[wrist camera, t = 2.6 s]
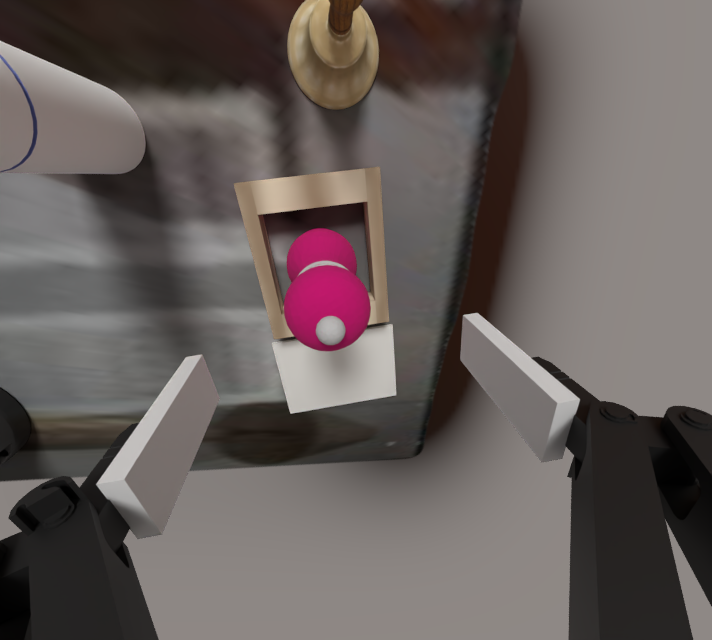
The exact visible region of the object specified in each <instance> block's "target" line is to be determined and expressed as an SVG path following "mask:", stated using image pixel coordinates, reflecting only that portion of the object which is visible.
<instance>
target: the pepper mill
mask: <svg viewBox="0 0 712 640" xmlns="http://www.w3.org/2000/svg"><path fill="white" fill-rule="evenodd" d="M356 270H357V263H356V257H355V253H354V250H353V248H352V246H351V245H350V243H349V242H348V241H347V240H346V239H345V238H344V237H343V236H342V235H340V234H338V233H337V232H334V231H332V230H329V229H326V228H314V229H311V230H309V231H307V232H305V233H304V234H302V235H301V236H299V237H298V238H297V239H296V240H295V241H294V243H293V244H292V245H291V247H290V249H289V252H288V256H287V271H288V275H289V278H290V280H291V282H292V283H291V285H290V287H289V288H288V291H287V293H286V296H285V301H284V316H285V320H286V323H287V326H288V328H289V329H290V331H291V332H292V334H293V335H294V336H295V338H296V339H297V340H298V341H300V342H301V343H302V344H304V345H305V346H307V347H310V348H312V349H315V350H318V351H326V352H327V351H336V350H340V349H342V348H345V347H347V346H349V345H351V344H352V343H354V342H355V341H356V340H357V339H358V338H359V337H360V336H361V335H362V334H363V333H364V331H365V329H366V327H367V325H368V322H369V319H370V313H371V306H370V298H369V295H368V292H367V290H366V288H365V286H364V284H363V283H362V282H361V281H360V279H359V278H358V277H357V276H356Z"/></svg>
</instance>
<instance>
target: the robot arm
mask: <svg viewBox="0 0 712 640" xmlns="http://www.w3.org/2000/svg"><path fill="white" fill-rule="evenodd" d="M460 360H461V361H462V362H463V364H464V365H465V366H466V368H467V369H468V370H469V371H470V373H471V374H472V375H473V376H474V378H475V379H476V380H477V381H478V383H479V384H480V385H481V386H482V387H483V389H484V390H485V391H486V393H487V394H488V395H489V396H490V398H491V399H492V400H493V401H494V403H495V404H496V405H497V406H498V407H499V409H500V410H501V412H502V413H503V414H504V415H505V417H506V418H507V419H508V420H509V422H510V423H511V424H512V425H513V427H514V428H515V429H516V430H517V432H518V433H519V434H520V435H521V436H522V438H523V439H524V441H525V442H526V443H527V444H528V445H529V447H530V448H531V449H532V451H533V452H534V453H535V454H536V456H537V457H538V458H539V459H540V461H541V462H547V461H552V460H558V459H562V457H563V454H564V451H565V447H567V448H568V449H569V450H570V451H571V452H572V453H573V454H574V458H573V461H572V464H571V467H570V470H569V473H568V476H567V477H570V478H571V477H572V492H571V493H572V494H571V498H572V499H571V544H570V545H571V546H570V596H569V640H693V637H692V633H691V629H690V625H689V620H688V615H687V611H686V607H685V603H684V598H683V594H682V590H681V586H680V581H679V577H678V573H677V569H676V564H675V560H674V556H673V551H672V547H671V542H670V539H669V534H668V530H667V525H666V521H667V523H668V525H669V527H670V528H671V530H672V532H673V534H674V536H675V538H676V540H677V542H678V544H679V546H680V548H681V549H682V551H683V553H684V555H685V557H686V559H687V561H688V563H689V565H690V567H691V568H692V570H693V572H694V574H695V576H696V578H697V580H698V582H699V583H700V585H701V587H702V589H703V591H704V593H705V595H706V597H707V599H708V601H709V602H710V604H711V606H712V415H710V414H708V413H706V412H704V411H701V410H698V409H695V408H690V407H686V406H673V407H670V408H668V409H667V411H666V414H665V415H664V417H663V418H662V417H648V416H638V415H637V414H636V413H634V412H633V411H632V410H630V409H628V408H626V407H624V406H622V405H619V404H616V403H613V402H606V401H601V402H600V401H599V400H598V399H597V398H595V397H594V396H593V395H591V394H590V393H589V392H588V391H586V390H585V389H584V388H583V387H581V386H580V385H579V384H578V383H576V382H575V381H574V380H572V379H570V378H569V376H567V375H566V374H565V373H563V372H561V370H560V369H558V368H557V367H556V366H555V365H553V364H552V363H551V362H549V361H546V360H544V359H542V358H540V357H533V358H530V357H529V356H528V355H527V354H526V353H524V352H523V351H522V350H521V349H520V348H519V347H517V346H516V345H515V344H514V343H513V342H511V341H510V340H509V339H508V338H507V337H505V336H504V335H503V334H502V333H501V332H499V331H498V330H497V329H496V328H495V327H494V326H492V325H491V324H490V323H489V322H488V321H486V320H485V319H484V318H483V317H482V316H480V315H479V314H478V313H474V314H468V315H463V325H462V341H461V356H460ZM219 399H220V398H219V395H218V393H217V390H216V388H215V385H214V383H213V380H212V378H211V375H210V373H209V370H208V368H207V365H206V362H205V360H204V357H203V355H196V356H189V357H186V358H185V359H184V361H183V362H182V364H181V365H180V366H179V368H178V369H177V371H176V372H175V373H174V375H173V376H172V378H171V379H170V380H169V382H168V383H167V385H166V386H165V388H164V389H163V390H162V392H161V393H160V395H159V396H158V397H157V399H156V400H155V402H154V403H153V405H152V406H151V407H150V409H149V410H148V412H147V413H146V414H145V416H144V417H143V419H142V420H141V422H140V423H136V424H132V425H131V426H129V427H128V428H127V429H126V430H125V431H123V432H122V433H121V434H120V435H119V436H118V437H117V439H116V440H115V441H114V443H113V444H112V445H111V447H110V449H108V451H107V452H106V453H105V455H104V456H103V459H101V460H100V461H99V463H98V464H97V465H96V467H95V468H94V469H93V471H92V472H91V473H90V475H89V476H88V477H87V479H86V480H85V481H84V483H83V484H82V485H81V487H80V488H79V487H78V486H77V484H76V483H75V482H74V481H73V480H72V478H71V477H66V476H62V477H58V478H54V479H51V480H49V481H47V482H45V483H43V484H41V485H39V486H38V487H36V488H34V489H33V490H31V491H30V492H29V493H27V494H26V495H25V496H24V497H23V498H22V499H21V500H19V501H18V503H17V504H16V505H15V506H14V507H13V509H12V510H11V512H10V515H9V519H10V520H11V521H12V522H13V523H14V524H15V525H16V526H17V527H18V528H19V529H21V530H22V532H20V533H17V534H15V535H12V536H10V537H8V538H5V539H3V540H1V541H0V640H158V637H157V634H156V631H155V628H154V625H153V622H152V619H151V616H150V613H149V610H148V607H147V604H146V601H145V598H144V595H143V592H142V589H141V586H140V583H139V580H138V577H137V574H136V571H135V568H134V566H133V562H132V559H131V557H130V553H129V551H128V548H127V546H126V545H125V544H124V543H123V540H124V538H125V537H126V535H127V533H128V531H129V529H130V530H131V531H132V532H133V534H134V535H135V536H136V537H137V539H140V538H146V537H151V536H156V535H161V534H162V533H163V531H164V528H165V526H166V524H167V522H168V519H169V517H170V515H171V512H172V509H173V507H174V505H175V503H176V500H177V498H178V496H179V493H180V491H181V489H182V486H183V484H184V482H185V479H186V476H187V474H188V472H189V470H190V467H191V465H192V463H193V460H194V458H195V456H196V453H197V451H198V449H199V446H200V444H201V441H202V439H203V437H204V434H205V432H206V430H207V427H208V425H209V423H210V420H211V418H212V416H213V413H214V411H215V408H216V406H217V404H218V401H219ZM29 436H30V422H29V419H28V417H27V415H26V413H25V411H24V410H23V408H22V407H21V406H20V405H19V403H18V402H17V401H16V400H15V399H13V398H12V397H11V396H10V395H9V394H7V393H6V392H5V391H3V390H2V389H0V465H2V464H3V463H4V462H6V461H7V460H9V459H10V458H11V457H12V456H13V455H14V454H15V453H16V452H17V451H18V450H19V449H20V448H22V447H23V446H24V445H25V443H26V442H27V440H28V438H29ZM665 519H666V521H665Z"/></svg>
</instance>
